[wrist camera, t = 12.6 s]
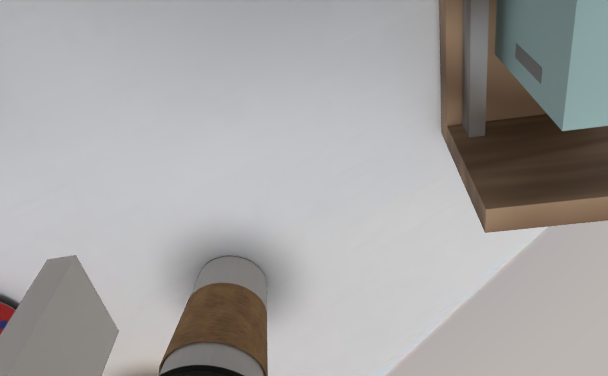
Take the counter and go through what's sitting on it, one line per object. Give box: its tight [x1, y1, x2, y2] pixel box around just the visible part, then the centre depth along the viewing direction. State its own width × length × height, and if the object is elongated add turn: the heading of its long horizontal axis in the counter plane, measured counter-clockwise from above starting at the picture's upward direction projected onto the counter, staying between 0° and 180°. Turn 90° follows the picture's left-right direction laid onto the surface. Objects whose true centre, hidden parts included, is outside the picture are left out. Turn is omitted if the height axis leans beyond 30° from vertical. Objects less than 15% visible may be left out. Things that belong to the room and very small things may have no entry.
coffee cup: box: [159, 256, 268, 376], centre depth 40 cm, size 8×8×15 cm
